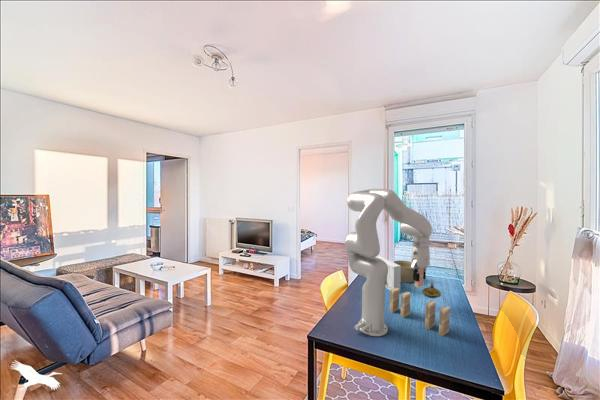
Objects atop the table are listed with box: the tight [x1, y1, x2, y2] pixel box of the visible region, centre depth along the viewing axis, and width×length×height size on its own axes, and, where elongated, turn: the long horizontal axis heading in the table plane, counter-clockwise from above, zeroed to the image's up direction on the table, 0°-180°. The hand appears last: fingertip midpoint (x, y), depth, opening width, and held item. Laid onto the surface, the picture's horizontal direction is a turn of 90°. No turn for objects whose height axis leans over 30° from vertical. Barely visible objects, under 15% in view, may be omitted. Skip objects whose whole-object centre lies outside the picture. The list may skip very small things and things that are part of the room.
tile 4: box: [438, 305, 451, 337], centre depth 110 cm, size 2×5×11 cm, turn 126°
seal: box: [421, 282, 441, 298], centre depth 151 cm, size 9×5×15 cm
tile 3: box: [424, 300, 437, 330], centre depth 115 cm, size 2×5×11 cm, turn 126°
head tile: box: [389, 288, 400, 314], centre depth 129 cm, size 2×5×11 cm, turn 126°
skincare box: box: [376, 255, 402, 293], centre depth 161 cm, size 21×6×16 cm, turn 17°
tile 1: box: [400, 291, 411, 318], centre depth 124 cm, size 2×5×11 cm, turn 126°
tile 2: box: [414, 266, 424, 288], centre depth 132 cm, size 2×5×11 cm, turn 126°
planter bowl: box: [393, 260, 414, 284], centre depth 170 cm, size 16×16×11 cm
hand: (419, 279), depth 132 cm, fingers closed on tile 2, 4 cm apart
